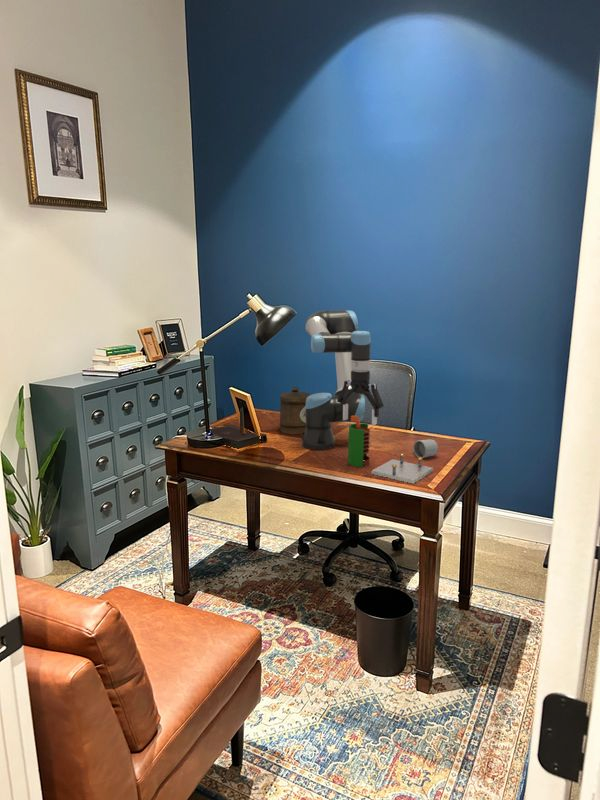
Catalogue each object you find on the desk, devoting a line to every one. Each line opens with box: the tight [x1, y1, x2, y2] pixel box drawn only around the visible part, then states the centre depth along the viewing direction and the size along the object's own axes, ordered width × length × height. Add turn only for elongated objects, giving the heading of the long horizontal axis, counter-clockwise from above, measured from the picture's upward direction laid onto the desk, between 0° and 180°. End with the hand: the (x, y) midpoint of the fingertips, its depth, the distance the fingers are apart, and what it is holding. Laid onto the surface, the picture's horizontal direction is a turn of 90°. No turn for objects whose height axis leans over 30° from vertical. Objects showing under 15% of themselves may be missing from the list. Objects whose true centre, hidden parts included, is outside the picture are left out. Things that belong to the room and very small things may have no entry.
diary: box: [202, 424, 268, 449], centre depth 280 cm, size 19×25×5 cm
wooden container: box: [279, 386, 311, 435], centre depth 295 cm, size 15×15×22 cm
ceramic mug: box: [412, 439, 439, 459], centre depth 257 cm, size 11×8×8 cm
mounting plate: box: [371, 452, 434, 485], centre depth 237 cm, size 18×17×5 cm
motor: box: [347, 415, 371, 468], centre depth 247 cm, size 10×9×20 cm
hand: (359, 422), depth 245 cm, fingers open, 13 cm apart
